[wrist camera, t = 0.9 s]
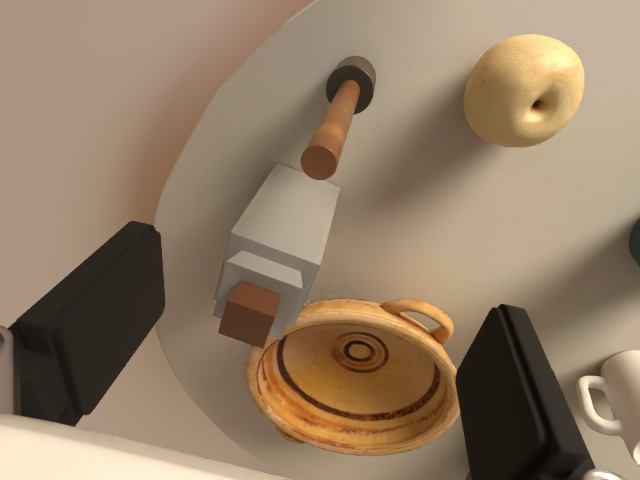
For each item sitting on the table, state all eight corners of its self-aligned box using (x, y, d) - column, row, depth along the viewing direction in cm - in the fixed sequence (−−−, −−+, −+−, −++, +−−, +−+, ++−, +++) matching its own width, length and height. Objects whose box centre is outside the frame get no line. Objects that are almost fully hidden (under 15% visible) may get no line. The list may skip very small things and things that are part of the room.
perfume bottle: (340, 187, 39) (309, 307, 24) (319, 239, 43) (280, 372, 28) (277, 162, 39) (205, 270, 24) (261, 217, 42) (189, 340, 27)
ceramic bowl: (363, 431, 60) (359, 485, 54) (225, 356, 56) (202, 406, 49) (516, 324, 45) (538, 382, 38) (342, 210, 40) (332, 253, 34)
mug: (556, 390, 49) (590, 471, 41) (566, 342, 45) (605, 422, 37) (662, 391, 47) (721, 478, 39) (683, 341, 43) (754, 426, 34)
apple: (462, 27, 30) (547, 7, 23) (533, 58, 33) (627, 49, 27) (431, 130, 32) (502, 140, 25) (501, 150, 35) (581, 163, 29)
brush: (338, 51, 33) (283, 113, 16) (380, 60, 33) (369, 132, 16) (330, 95, 35) (273, 191, 18) (370, 104, 35) (350, 208, 18)
